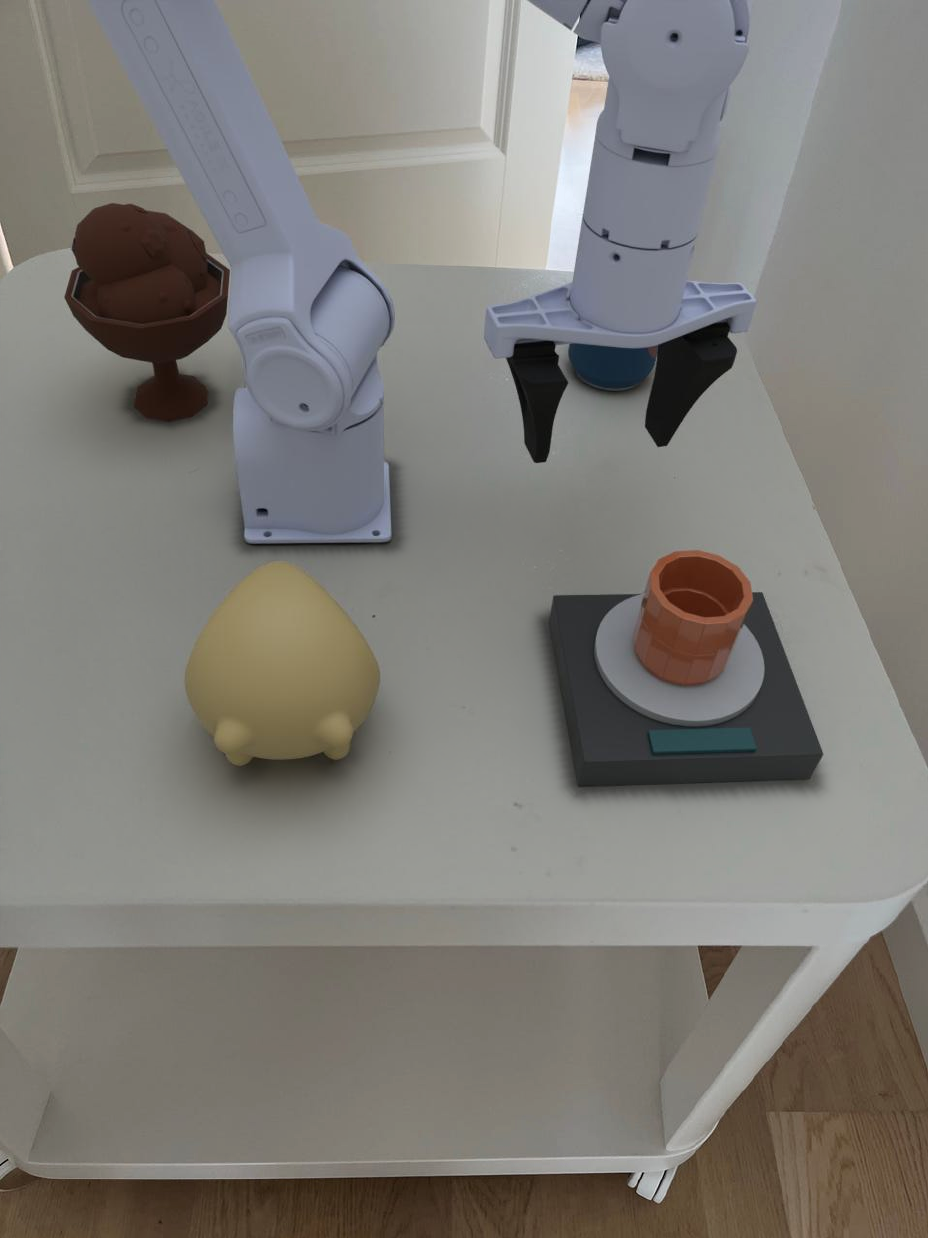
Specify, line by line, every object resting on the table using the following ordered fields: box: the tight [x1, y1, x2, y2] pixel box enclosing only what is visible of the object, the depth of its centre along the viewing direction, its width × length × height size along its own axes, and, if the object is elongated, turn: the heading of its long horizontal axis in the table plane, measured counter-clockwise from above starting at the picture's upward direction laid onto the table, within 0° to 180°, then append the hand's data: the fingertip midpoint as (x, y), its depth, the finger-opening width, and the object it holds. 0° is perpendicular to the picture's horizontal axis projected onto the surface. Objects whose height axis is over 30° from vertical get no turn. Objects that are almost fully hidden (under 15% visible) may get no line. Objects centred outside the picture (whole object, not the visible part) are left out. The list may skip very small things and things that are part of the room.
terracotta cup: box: [633, 549, 753, 686], centre depth 55 cm, size 5×6×5 cm
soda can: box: [567, 343, 658, 392], centre depth 76 cm, size 7×7×12 cm
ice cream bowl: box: [64, 202, 231, 422], centre depth 69 cm, size 11×11×15 cm
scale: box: [548, 591, 824, 787], centre depth 57 cm, size 13×12×3 cm
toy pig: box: [183, 560, 381, 767], centre depth 53 cm, size 10×12×11 cm
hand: (596, 444), depth 59 cm, fingers open, 7 cm apart
